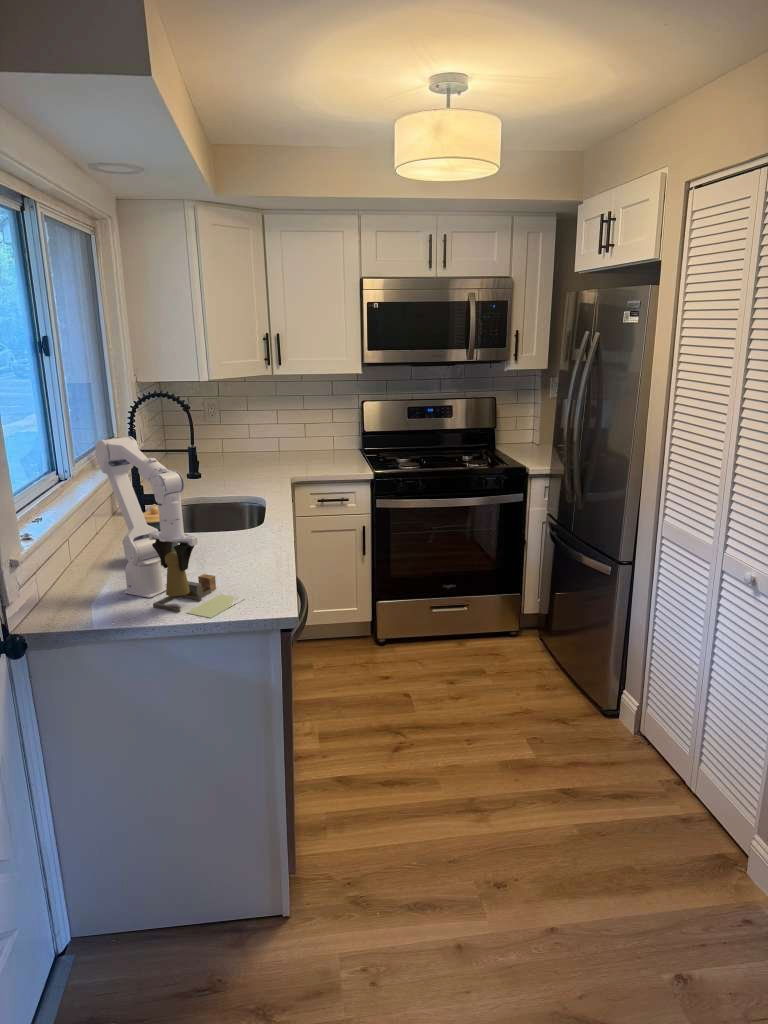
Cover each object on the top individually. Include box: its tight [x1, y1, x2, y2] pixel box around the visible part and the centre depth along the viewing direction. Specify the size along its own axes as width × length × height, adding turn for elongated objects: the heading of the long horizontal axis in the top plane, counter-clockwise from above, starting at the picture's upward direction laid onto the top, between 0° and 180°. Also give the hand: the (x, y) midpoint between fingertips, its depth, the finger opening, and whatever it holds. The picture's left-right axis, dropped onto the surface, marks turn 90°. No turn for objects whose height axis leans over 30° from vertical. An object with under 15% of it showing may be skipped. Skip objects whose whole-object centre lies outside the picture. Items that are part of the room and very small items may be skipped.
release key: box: [188, 573, 217, 595], centre depth 188 cm, size 4×8×4 cm, turn 155°
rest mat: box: [186, 594, 239, 619], centre depth 179 cm, size 8×14×1 cm, turn 155°
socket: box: [152, 580, 212, 614], centre depth 183 cm, size 8×15×4 cm, turn 155°
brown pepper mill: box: [165, 552, 190, 597], centre depth 178 cm, size 6×6×11 cm
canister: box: [142, 505, 180, 566], centre depth 215 cm, size 13×13×18 cm
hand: (175, 568), depth 178 cm, fingers closed on brown pepper mill, 5 cm apart
